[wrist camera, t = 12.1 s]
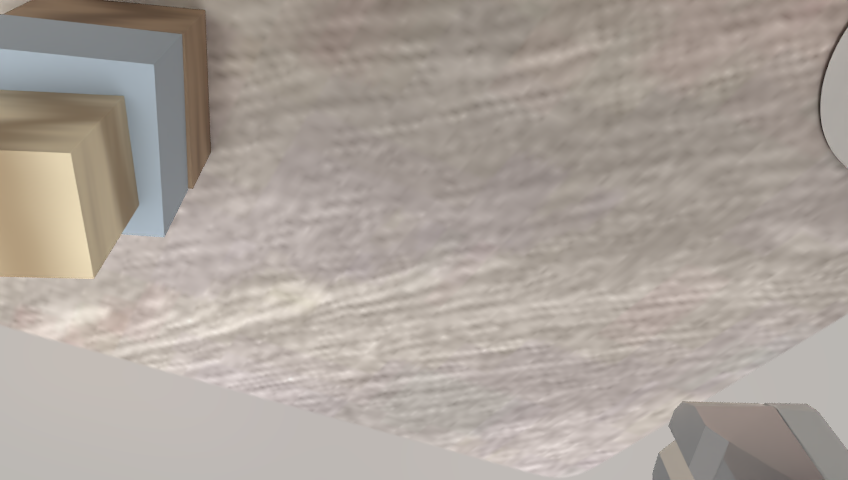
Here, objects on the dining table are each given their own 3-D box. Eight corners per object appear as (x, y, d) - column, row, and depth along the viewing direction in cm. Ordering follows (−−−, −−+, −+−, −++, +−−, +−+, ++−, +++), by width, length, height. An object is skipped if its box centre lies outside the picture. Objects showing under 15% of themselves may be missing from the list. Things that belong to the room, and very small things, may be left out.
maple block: (124, 95, 28) (70, 153, 23) (139, 205, 31) (93, 278, 26) (-6, 89, 28) (-90, 146, 23) (20, 200, 30) (-51, 275, 25)
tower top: (182, 34, 32) (154, 64, 28) (188, 189, 36) (164, 237, 32) (-3, 13, 31) (-62, 42, 27) (24, 175, 35) (-24, 223, 31)
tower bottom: (205, 9, 37) (184, 33, 32) (211, 151, 40) (193, 188, 36) (44, -6, 36) (0, 15, 31) (66, 140, 40) (29, 177, 35)
